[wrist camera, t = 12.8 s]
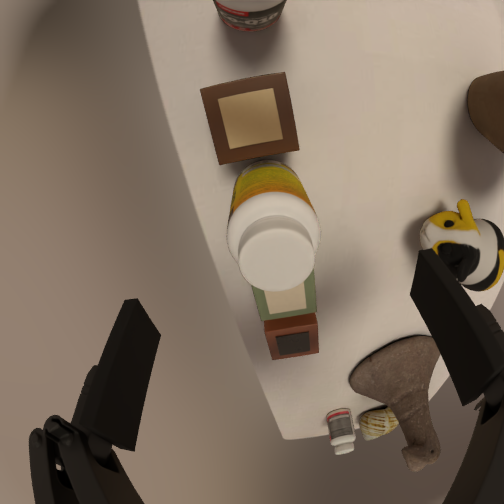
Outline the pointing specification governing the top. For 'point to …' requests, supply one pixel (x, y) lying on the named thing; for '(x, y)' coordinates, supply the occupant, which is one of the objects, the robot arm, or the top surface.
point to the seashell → (377, 423)
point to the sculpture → (404, 392)
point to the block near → (250, 117)
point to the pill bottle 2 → (341, 430)
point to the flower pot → (488, 107)
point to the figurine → (466, 246)
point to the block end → (292, 336)
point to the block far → (287, 300)
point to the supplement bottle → (272, 227)
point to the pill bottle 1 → (249, 13)
